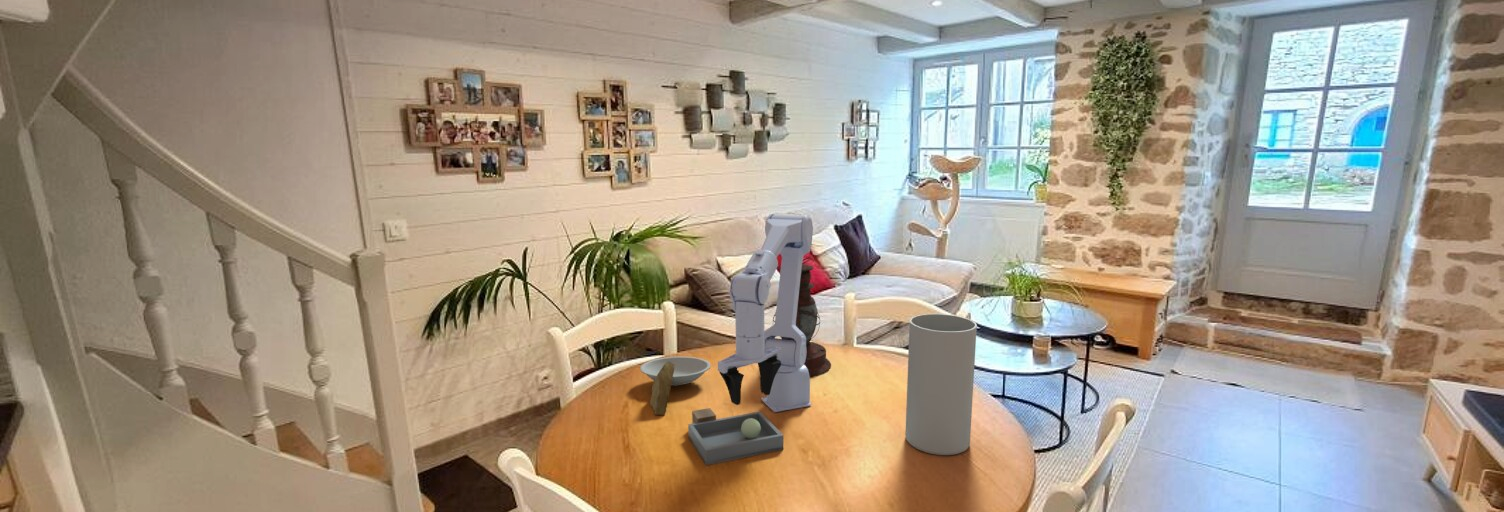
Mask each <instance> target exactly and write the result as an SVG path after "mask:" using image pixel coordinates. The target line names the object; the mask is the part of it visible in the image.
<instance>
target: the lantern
mask: <svg viewBox="0 0 1504 512" xmlns="http://www.w3.org/2000/svg"><path fill="white" fill-rule="evenodd" d="M811 259H812V257H811V256H810V257H806V258H803V261H802V269H801V278H800V287H799V297H798V306H797V316H796V327H797V328H798V329H799V330H801V331H802V332H803V333H804V335H805V336H806V350H807V352H806V360H805V363H804V365H805V366H806V367H807V369H808V372H809V376H810V378H813V377H817V376H821V375H824V374H826V373H828V372H829V371H830V370H831V369H832V363H831V361H830V360H829V359H828V358H827V349H826V348H825V347H824V346H823V345H821V344H819V343H817V342H814V341H812V339H813V338H814V337H815V336H817V334H818V332H819V329H820V325H821V318H820V314H819V312H818V307H817V304H816V301H815V299H814V297H813V296H812V295H811V289H813V288H814V287H815V284H813V283H812V282H810V281H811V280H812V275H811V271H812V270H814V266H812V265H809V264H806V263H807V262H809V261H811ZM780 270H781V266H780ZM775 316H776V311H775V313H774V315H773V317H772V322H773V323H775ZM818 319H819V322H818ZM817 326H818V329H817V331H816V328H817ZM815 331H816V333H815ZM814 334H815V335H814ZM774 338H776V337H774ZM780 339H786V340H795V339H793V338H789V337H780ZM829 369H830V370H829ZM828 370H829V371H828ZM827 371H828V372H827Z"/></svg>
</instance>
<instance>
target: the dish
mask: <svg viewBox="0 0 1504 512" xmlns="http://www.w3.org/2000/svg"><path fill="white" fill-rule="evenodd" d="M667 362H671V363H672V364H674V365H675V368H674V373H673V378H672V383H671V386H673V387H678V386H681V385H687V384H689V383H692V382H694V381H696V380H698V379H699V378H701V377H702V376H703V375H704V374H705V372H707V371H709V370H710V369H711V367H712V364H711V363H710V361H708V360H707V359H704V358H700V357H694V356H667V357H660V358H655V359H652V360H648V361H647V362H646V361H645V362H644V363H643V364H641V366H640V368H639V369H640V372H641V373H643V374H645V375H646V376H647V377H648V378H649V379H650V380H653V382H654V381H655V380H656V376H657V375H658V373H659V371H660V370H661V369H662V367H663V365H664V364H666V363H667Z"/></svg>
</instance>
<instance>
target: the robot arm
mask: <svg viewBox="0 0 1504 512" xmlns="http://www.w3.org/2000/svg"><path fill="white" fill-rule="evenodd" d="M764 233H765V239H764V242H763V244H762V246H761V248H760V249H758V250H756V251H754V252H753V253H752V255H751V256H750V258H749V260H748V261H747V263H746V265H745V267H744V268H743V270H742V272H741V273H739V272H738V273H737V274H736V275H734V276H733V277H732V279H731V281H730V285H729V286H730V287H729V298H730V300H731V303H732V310H733V312H734V314H735V316H734V317H735V321H734V322H735V351H734V353H733V354H732V355H729V356H727V357H726V358H723V359H721V360H718V361H717V371H718V372H719V375H720V376H721V378H722V379H723V381H724V383H725V385H726V387H727V388H726V389H727V391H728V394H729V398H730V402H731V403H732V404H734V405H736V406H739V405H741V397H742V396H741V394H742V391H741V389H742V383H743V379H744V374H743V373H741V372H739V368H742V367H746V366H749V365H754V364H757V367H758V370H759V381H760V382H759V385H760V386H759V387H760V392H761V394H764V395H766V396H763V397H761V398H760V399H761V401H762V402H763V403H764V404H765V406H767V407H768V408H769V409H770V410H772V412H773V413H777V412H779V413H780V412H784V411H790V410H795V409H796V410H797V409H801V408H805V407H811V406H812V403H811V397H810V396H811V377H810V376H809V372H808V369H807V367H806V366H805V365H804V363H805V360H806V352H807V350H806V336H805V335H804V333H803V332H802V331H801V330H799V329H798V328H797V327H796V316H797V306H798V297H799V287H800V278H801V269H802V263H803V262H804V261H803V260H804V256H805V255H806V254H807V255H808V253H810V252H811V248H812V242H813V236H814V235H813V233H814V226H813V220H812V217H810V215H809V214H805V215H801V214H799V215H797V214H778V213H777V214H775V213H769V215H768V216H767V218H766V220H765V223H764ZM779 255H781V263H780V264H781V265H780V267H781V269H780V273H779V281H778V290H777V291H778V292H777V299H776V300H777V301H776V309H775V312H776V314H775V315H776V316H775V317H774V321H775V322H774V323H773V324H772V325H771V326H770V327H768V328H767V329H765V304H766V303H767V301H768V298H769V294H770V288H771V286H772V285H771V284H772V283H771V280H772V278H773V276H774V274H775V272H776V270H777V268H778V266H779V261H778V256H779ZM774 337H775V338H774ZM777 337H779V338H777ZM781 337H789V338H793V339H795V340H786V339H781Z"/></svg>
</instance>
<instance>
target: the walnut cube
mask: <svg viewBox="0 0 1504 512" xmlns="http://www.w3.org/2000/svg"><path fill="white" fill-rule="evenodd" d="M691 418H692V419H691V420H692V423H691V424H693V423H698V422H704V421H709V420H715V419H717V415H716V414H715V412H714V411H713V410H712V408H711V407H708V408H701V409H695V410H692V411H691Z"/></svg>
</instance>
